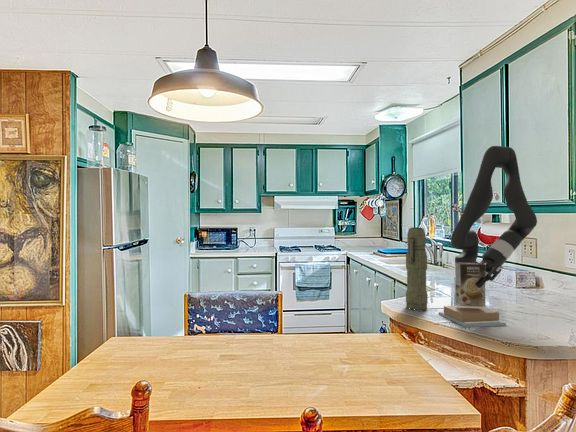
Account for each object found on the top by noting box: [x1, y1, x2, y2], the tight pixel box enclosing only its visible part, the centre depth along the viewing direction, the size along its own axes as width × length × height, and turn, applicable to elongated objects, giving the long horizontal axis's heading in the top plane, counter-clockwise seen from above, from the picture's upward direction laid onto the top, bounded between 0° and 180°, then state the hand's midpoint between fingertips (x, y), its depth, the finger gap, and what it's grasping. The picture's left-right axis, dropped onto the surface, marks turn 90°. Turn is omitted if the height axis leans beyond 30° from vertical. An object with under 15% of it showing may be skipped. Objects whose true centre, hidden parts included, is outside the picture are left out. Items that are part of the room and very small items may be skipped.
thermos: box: [405, 226, 429, 311], centre depth 163 cm, size 9×12×35 cm
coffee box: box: [454, 262, 486, 307], centre depth 145 cm, size 9×6×16 cm
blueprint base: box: [438, 305, 507, 328], centre depth 145 cm, size 18×16×4 cm
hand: (470, 284), depth 145 cm, fingers closed on coffee box, 7 cm apart
